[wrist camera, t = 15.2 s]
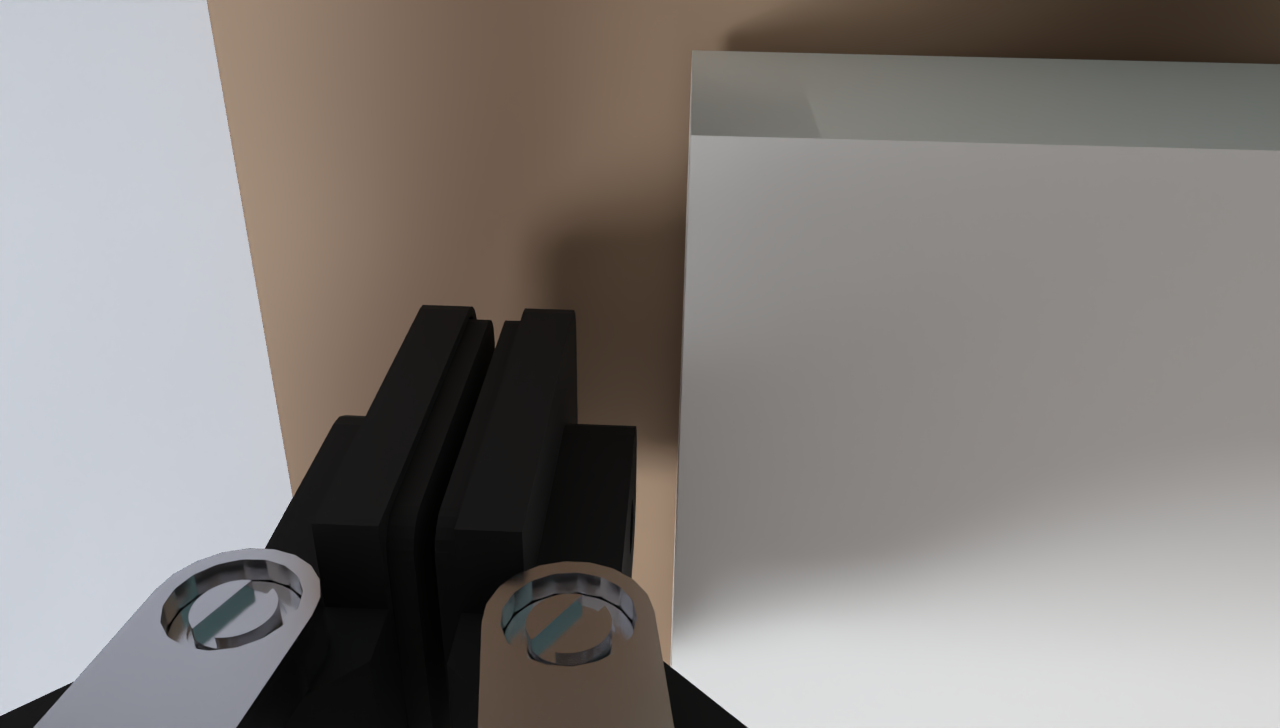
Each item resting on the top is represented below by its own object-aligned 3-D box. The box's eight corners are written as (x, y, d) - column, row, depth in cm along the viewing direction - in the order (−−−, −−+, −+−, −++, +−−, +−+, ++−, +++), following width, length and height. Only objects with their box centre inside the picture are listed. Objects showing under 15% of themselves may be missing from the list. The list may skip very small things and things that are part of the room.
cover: (670, 650, 15) (665, 827, 12) (692, 50, 11) (691, 134, 8) (1272, 675, 15) (1390, 861, 12) (1516, 69, 11) (1761, 163, 8)
